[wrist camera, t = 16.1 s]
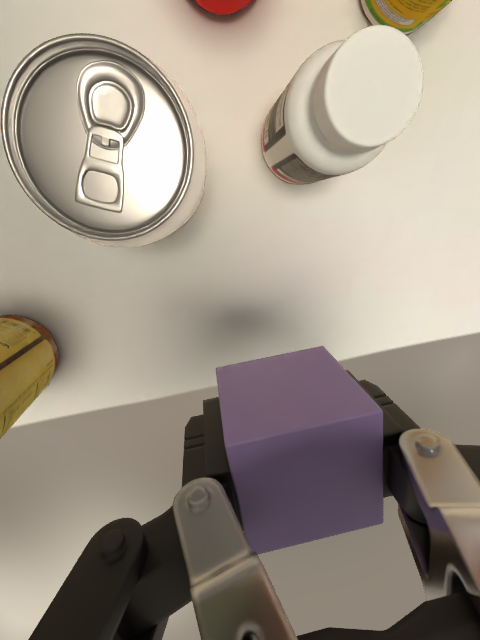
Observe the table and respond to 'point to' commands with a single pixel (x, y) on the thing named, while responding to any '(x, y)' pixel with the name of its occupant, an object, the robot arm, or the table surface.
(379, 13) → the supplement bottle
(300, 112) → the pill bottle
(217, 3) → the beverage can
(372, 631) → the robot arm
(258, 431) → the purple cube
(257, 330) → the table surface
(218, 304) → the table surface
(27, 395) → the sauce bottle
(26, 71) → the can
